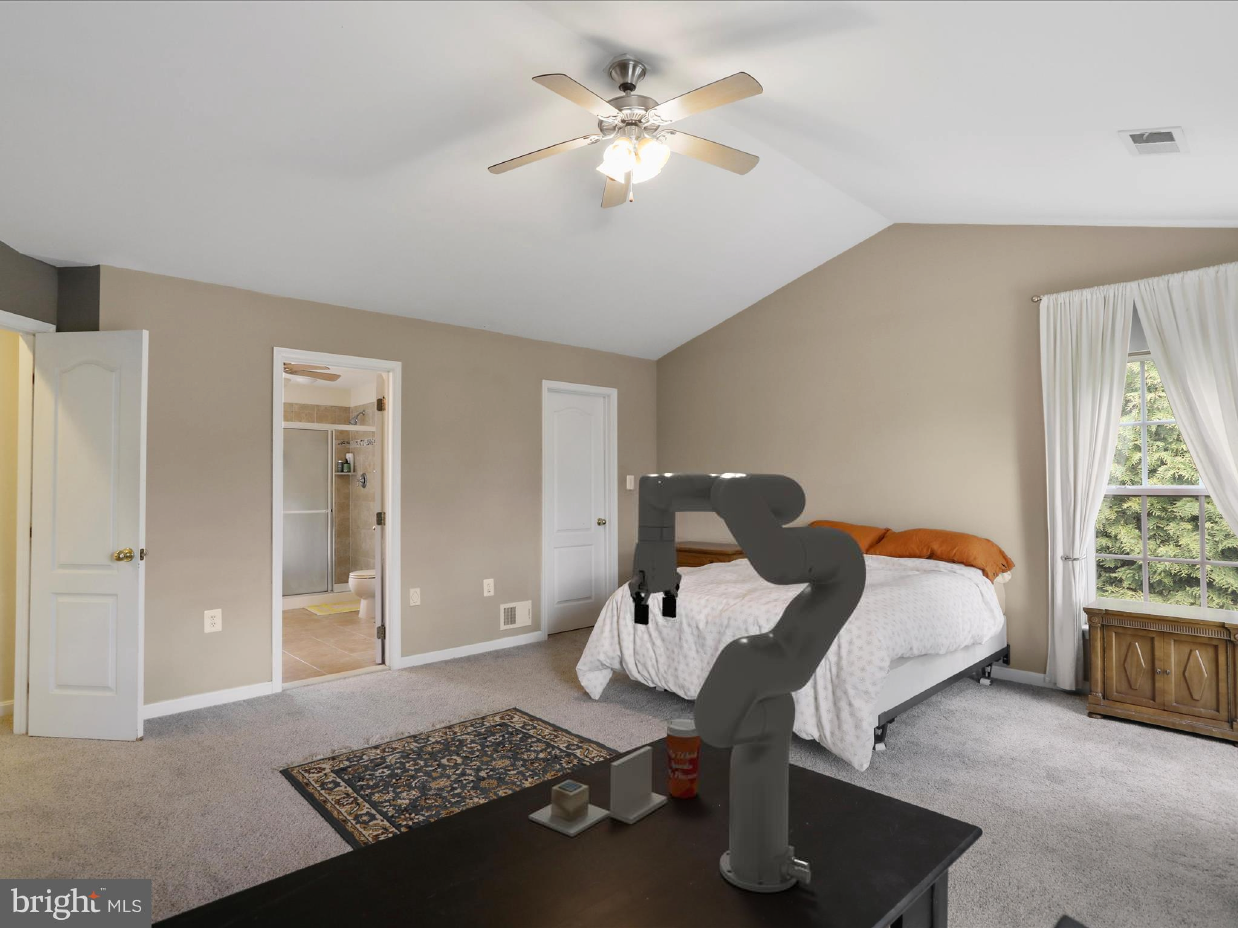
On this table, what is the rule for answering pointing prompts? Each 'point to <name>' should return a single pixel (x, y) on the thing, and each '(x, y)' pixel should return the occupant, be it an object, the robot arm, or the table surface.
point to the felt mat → (565, 826)
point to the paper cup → (683, 757)
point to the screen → (633, 787)
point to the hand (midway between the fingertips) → (655, 620)
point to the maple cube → (569, 800)
